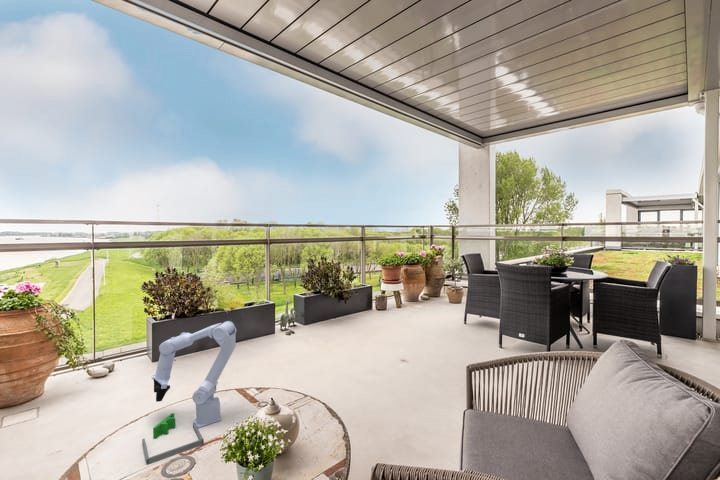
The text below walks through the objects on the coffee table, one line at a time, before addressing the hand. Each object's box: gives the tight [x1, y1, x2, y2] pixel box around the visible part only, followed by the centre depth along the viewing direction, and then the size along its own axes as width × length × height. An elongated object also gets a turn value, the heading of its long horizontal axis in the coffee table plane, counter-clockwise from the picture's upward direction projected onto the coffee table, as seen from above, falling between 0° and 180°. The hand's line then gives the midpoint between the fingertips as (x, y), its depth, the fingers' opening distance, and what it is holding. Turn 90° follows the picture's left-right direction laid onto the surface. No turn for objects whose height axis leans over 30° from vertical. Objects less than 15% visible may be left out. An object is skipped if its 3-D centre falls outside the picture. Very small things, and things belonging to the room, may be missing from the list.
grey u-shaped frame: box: [141, 421, 205, 465], centre depth 132 cm, size 19×16×2 cm
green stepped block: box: [152, 413, 176, 440], centre depth 141 cm, size 11×4×5 cm, turn 173°
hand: (157, 396), depth 148 cm, fingers open, 7 cm apart
